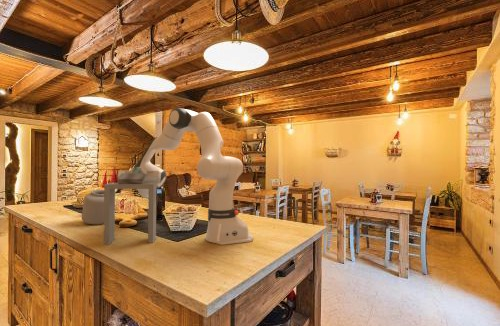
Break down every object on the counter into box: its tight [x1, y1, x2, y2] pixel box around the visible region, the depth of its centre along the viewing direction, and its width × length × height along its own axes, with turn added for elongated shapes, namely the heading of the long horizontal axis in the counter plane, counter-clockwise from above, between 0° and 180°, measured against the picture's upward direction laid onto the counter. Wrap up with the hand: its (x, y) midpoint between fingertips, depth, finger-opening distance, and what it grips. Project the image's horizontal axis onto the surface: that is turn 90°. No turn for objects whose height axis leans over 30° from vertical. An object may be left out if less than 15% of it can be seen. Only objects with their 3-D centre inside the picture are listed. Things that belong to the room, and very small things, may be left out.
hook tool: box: [117, 167, 145, 184], centre depth 117 cm, size 10×16×2 cm, turn 10°
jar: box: [81, 179, 104, 226], centre depth 143 cm, size 19×15×25 cm
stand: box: [103, 182, 157, 246], centre depth 112 cm, size 20×7×26 cm, turn 100°
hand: (136, 169), depth 121 cm, fingers closed on hook tool, 2 cm apart
